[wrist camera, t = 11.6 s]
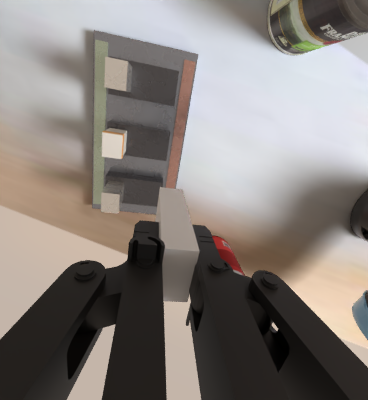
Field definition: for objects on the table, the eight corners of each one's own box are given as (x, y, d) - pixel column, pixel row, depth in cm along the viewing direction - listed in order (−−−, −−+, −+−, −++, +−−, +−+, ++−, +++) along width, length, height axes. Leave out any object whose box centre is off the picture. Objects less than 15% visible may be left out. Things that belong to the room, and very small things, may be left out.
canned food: (194, 234, 46) (205, 272, 36) (232, 234, 47) (252, 271, 37) (191, 264, 49) (200, 306, 39) (226, 263, 50) (243, 304, 40)
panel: (196, 56, 33) (209, 41, 24) (170, 212, 43) (173, 238, 35) (96, 33, 30) (74, 9, 22) (94, 204, 40) (78, 231, 32)
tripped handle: (127, 130, 32) (123, 135, 27) (126, 151, 33) (121, 159, 29) (109, 127, 31) (101, 131, 27) (108, 149, 32) (101, 156, 28)
